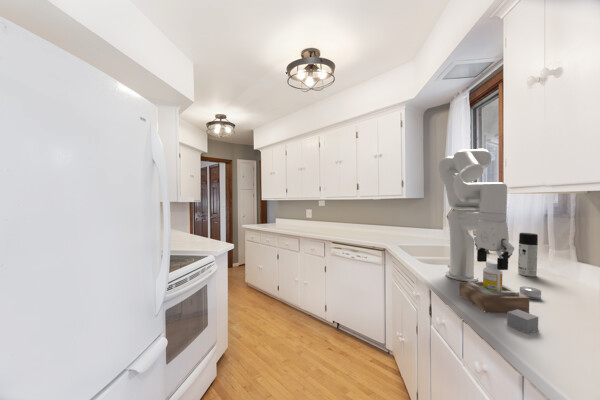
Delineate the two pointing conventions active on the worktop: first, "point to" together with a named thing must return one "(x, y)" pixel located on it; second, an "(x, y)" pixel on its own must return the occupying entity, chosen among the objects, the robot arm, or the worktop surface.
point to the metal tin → (531, 293)
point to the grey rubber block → (522, 321)
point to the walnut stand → (493, 298)
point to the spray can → (528, 254)
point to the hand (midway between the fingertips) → (491, 265)
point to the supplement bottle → (492, 277)
